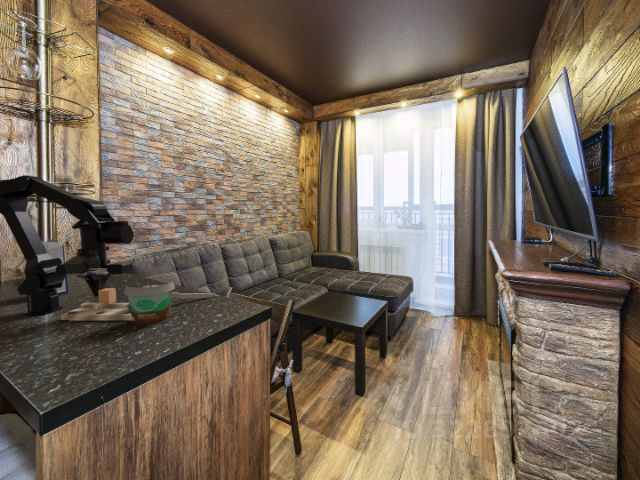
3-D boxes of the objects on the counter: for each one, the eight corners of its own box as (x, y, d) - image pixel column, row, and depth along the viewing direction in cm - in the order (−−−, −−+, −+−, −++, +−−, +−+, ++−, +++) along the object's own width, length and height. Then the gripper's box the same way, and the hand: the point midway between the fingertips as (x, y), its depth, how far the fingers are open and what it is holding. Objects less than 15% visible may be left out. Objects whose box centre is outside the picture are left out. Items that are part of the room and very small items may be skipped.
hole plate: (61, 320, 82) (59, 297, 82) (91, 307, 93) (89, 287, 93) (131, 320, 82) (130, 297, 82) (153, 307, 93) (151, 287, 93)
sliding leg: (88, 311, 84) (87, 294, 83) (106, 303, 91) (105, 288, 90) (99, 311, 84) (98, 294, 83) (116, 303, 91) (115, 288, 90)
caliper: (155, 310, 91) (154, 290, 91) (154, 310, 92) (152, 289, 91) (217, 296, 106) (217, 279, 106) (216, 296, 107) (215, 278, 106)
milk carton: (33, 296, 105) (28, 239, 103) (55, 291, 111) (50, 238, 109) (47, 298, 103) (42, 240, 101) (68, 293, 109) (64, 238, 107)
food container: (123, 329, 76) (120, 290, 75) (125, 321, 82) (123, 285, 81) (176, 321, 82) (175, 285, 81) (176, 314, 87) (174, 280, 86)
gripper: (35, 247, 79) (40, 305, 81) (106, 247, 79) (110, 305, 81) (69, 243, 90) (73, 294, 92) (132, 243, 90) (135, 293, 92)
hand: (97, 296), depth 89 cm, fingers closed
